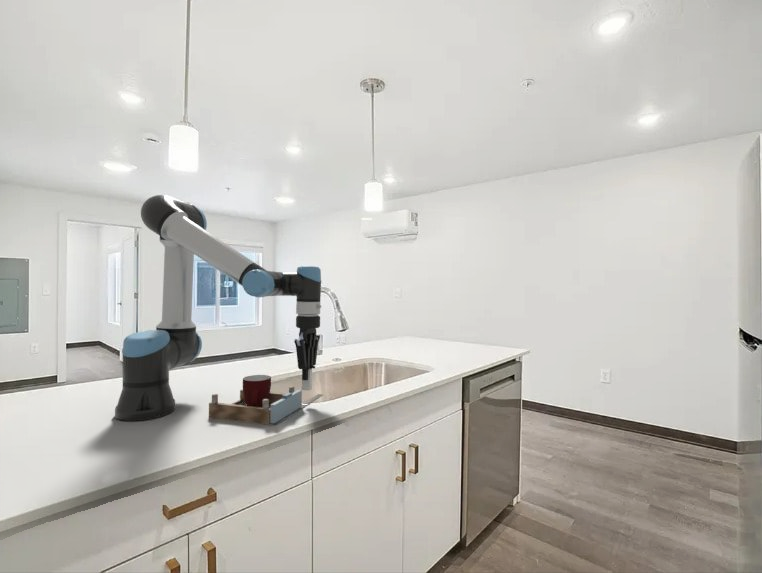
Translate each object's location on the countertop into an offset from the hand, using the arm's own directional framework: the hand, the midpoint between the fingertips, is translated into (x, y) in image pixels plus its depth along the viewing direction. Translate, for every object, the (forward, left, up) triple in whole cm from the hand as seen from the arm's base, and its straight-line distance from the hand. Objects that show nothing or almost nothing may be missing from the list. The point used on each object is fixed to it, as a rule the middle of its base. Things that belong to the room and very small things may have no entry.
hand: (306, 389), depth 123 cm
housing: (-10, -4, -5) cm, 12 cm away
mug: (-10, -12, -5) cm, 16 cm away
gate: (0, -11, -4) cm, 12 cm away
